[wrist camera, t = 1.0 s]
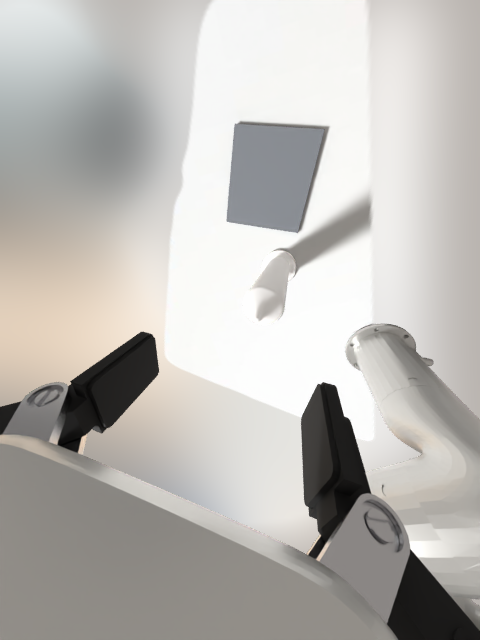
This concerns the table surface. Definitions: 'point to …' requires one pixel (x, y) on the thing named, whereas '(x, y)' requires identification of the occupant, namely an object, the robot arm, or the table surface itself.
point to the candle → (270, 288)
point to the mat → (271, 175)
